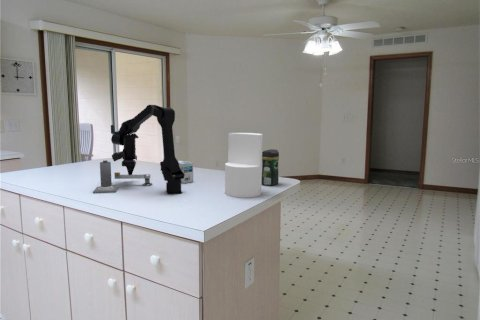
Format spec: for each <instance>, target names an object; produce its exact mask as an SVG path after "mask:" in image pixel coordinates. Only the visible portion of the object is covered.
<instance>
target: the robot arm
mask: <svg viewBox="0 0 480 320" xmlns="http://www.w3.org/2000/svg"><path fill="white" fill-rule="evenodd" d="M152 116H153V117H156V120H157V122H158V125H160V127H161V138H162V147H163V157H164V158H163V160H162V161H160V162H159V164H160V171H161V174H162V176H163V179H164V181H166V183H165V188H166V189H165V191H166V194H167V195H172V194H173V195H175V194H176V195H177V194H182V193H183V192H182V183H181V179H183V178H184V176H185V174H184V173H183V172H182V170H181V169H180V167H179V162H178V161H179V160H178V159H177V158H176V154H175V143H174V133H173V125H174V123H175V121H176V120H175V119H176V112H175V110H174V109H173V108H172V107H163V106H159V105H156V104H148V105H146V107H145V108H144V109H143V110H141V111H140V112H139V113H138V114H136V115H135V116H134V117H132V118H130V119H126V120H125V121H123V122H122V123H121V126H120V127H119V130H118V131H114V134H113V135H112V136H111V138H110V140H111V144H113V145H118V146H123V148H122V150H121V151H118V152H114V153H112V154H111V159H112V160H113V161H114V162H116V161H119V160H121V159H122V161H121V167H125V168H126V170H127V175H133V173H134V170H135V168H136V166H137V165H136V164H137V162H136V161H137V160H138V155H136V150H137V148H136V139H139V136H138V135H137V134H136V133H137V132H138V131H139V130H140V128H141V126H142V124H143V123H144V122H146V121H148V120H149V119H150V118H151V117H152ZM174 175H175V176H174Z"/></svg>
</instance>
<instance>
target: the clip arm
mask: <svg viewBox="0 0 480 320" xmlns="http://www.w3.org/2000/svg"><path fill="white" fill-rule="evenodd" d="M114 179H115V180H117V179H118V180H123V179H124V180H125V179H128V180H130V179H131V180H134V179H135V180H136V179H138V180H140V179H143V180H145V179H150V180H151V173H145V174H132V175H128V174H121V172H119V171H117V172H114Z"/></svg>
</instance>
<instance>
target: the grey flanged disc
mask: <svg viewBox="0 0 480 320" xmlns="http://www.w3.org/2000/svg"><path fill="white" fill-rule="evenodd" d="M143 186H144V187H151V186H153V183H152V182H151V178H150V179H144V182H143V183H142V187H143Z"/></svg>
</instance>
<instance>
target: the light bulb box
mask: <svg viewBox="0 0 480 320" xmlns="http://www.w3.org/2000/svg"><path fill="white" fill-rule="evenodd" d="M177 161H178V162H179V167H180V169H181V170H182V172H183V173H184V174H185V176H184V178H183V179H181V184H188V183H193V182H194V162H192V161H191V162H190V161H185V160H177ZM174 176H175V175H174Z"/></svg>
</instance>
